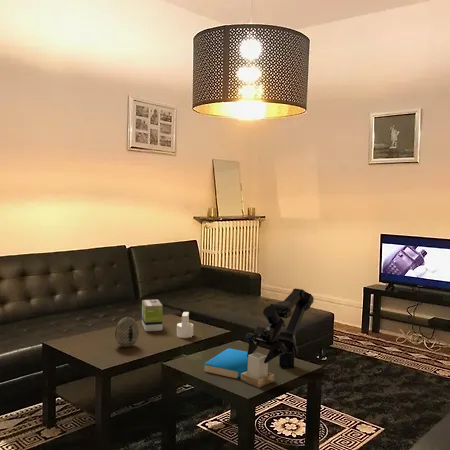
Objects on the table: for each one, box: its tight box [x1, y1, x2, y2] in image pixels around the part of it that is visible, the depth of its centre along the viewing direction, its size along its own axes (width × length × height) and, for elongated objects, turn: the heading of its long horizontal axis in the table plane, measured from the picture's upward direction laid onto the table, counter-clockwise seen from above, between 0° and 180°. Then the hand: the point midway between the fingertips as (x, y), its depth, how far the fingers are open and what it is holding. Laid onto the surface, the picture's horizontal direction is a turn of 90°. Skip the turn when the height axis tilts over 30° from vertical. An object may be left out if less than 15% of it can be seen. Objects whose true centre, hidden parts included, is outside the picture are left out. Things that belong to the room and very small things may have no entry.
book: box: [203, 348, 255, 379], centre depth 224 cm, size 17×4×25 cm
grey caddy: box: [247, 351, 269, 380], centre depth 207 cm, size 6×6×10 cm
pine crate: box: [240, 371, 275, 388], centre depth 208 cm, size 10×10×3 cm
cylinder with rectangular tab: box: [176, 311, 194, 339], centre depth 268 cm, size 9×9×12 cm
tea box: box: [141, 299, 164, 332], centre depth 282 cm, size 15×10×15 cm
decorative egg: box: [114, 316, 140, 348], centre depth 246 cm, size 12×12×15 cm
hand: (256, 360), depth 206 cm, fingers open, 9 cm apart
